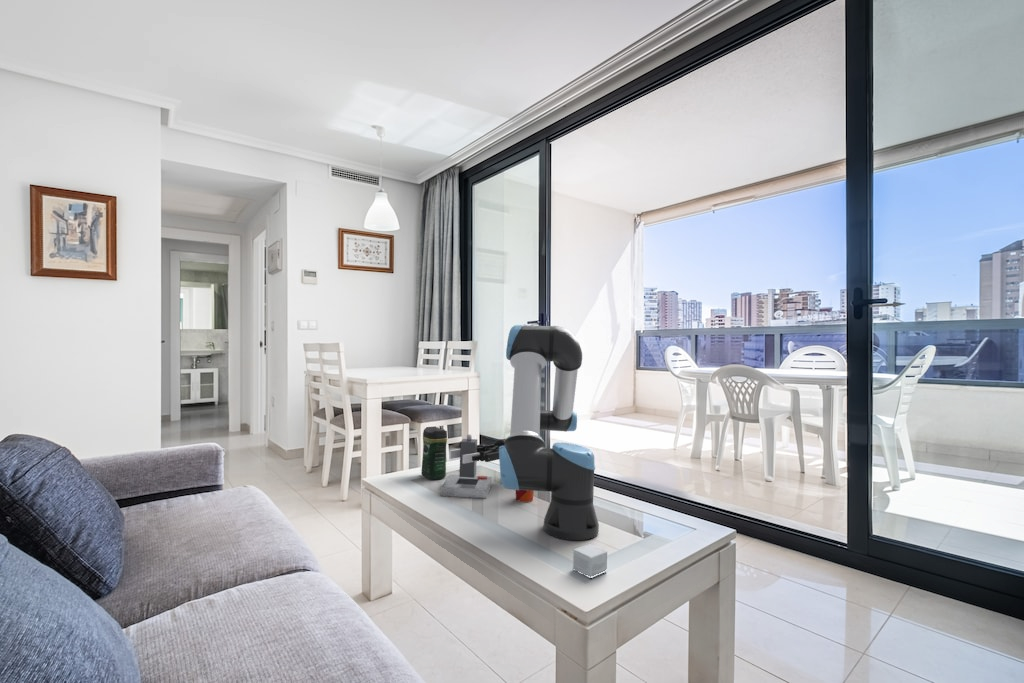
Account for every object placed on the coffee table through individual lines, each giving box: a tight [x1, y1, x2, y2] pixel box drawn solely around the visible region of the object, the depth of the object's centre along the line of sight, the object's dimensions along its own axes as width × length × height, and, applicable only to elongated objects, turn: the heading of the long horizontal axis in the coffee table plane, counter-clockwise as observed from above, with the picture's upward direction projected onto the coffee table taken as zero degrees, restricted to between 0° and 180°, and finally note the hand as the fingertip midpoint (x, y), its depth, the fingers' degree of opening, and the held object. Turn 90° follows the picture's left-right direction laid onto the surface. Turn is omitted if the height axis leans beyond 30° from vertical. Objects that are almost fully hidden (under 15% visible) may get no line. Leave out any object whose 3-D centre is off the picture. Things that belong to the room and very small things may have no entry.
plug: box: [458, 434, 478, 478], centre depth 167 cm, size 5×5×14 cm
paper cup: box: [515, 490, 535, 503], centre depth 159 cm, size 8×8×14 cm
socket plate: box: [440, 474, 493, 499], centre depth 167 cm, size 15×15×3 cm
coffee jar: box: [421, 426, 448, 481], centre depth 182 cm, size 10×8×19 cm
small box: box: [572, 543, 608, 577], centre depth 110 cm, size 6×6×5 cm
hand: (456, 456), depth 164 cm, fingers closed on plug, 7 cm apart
